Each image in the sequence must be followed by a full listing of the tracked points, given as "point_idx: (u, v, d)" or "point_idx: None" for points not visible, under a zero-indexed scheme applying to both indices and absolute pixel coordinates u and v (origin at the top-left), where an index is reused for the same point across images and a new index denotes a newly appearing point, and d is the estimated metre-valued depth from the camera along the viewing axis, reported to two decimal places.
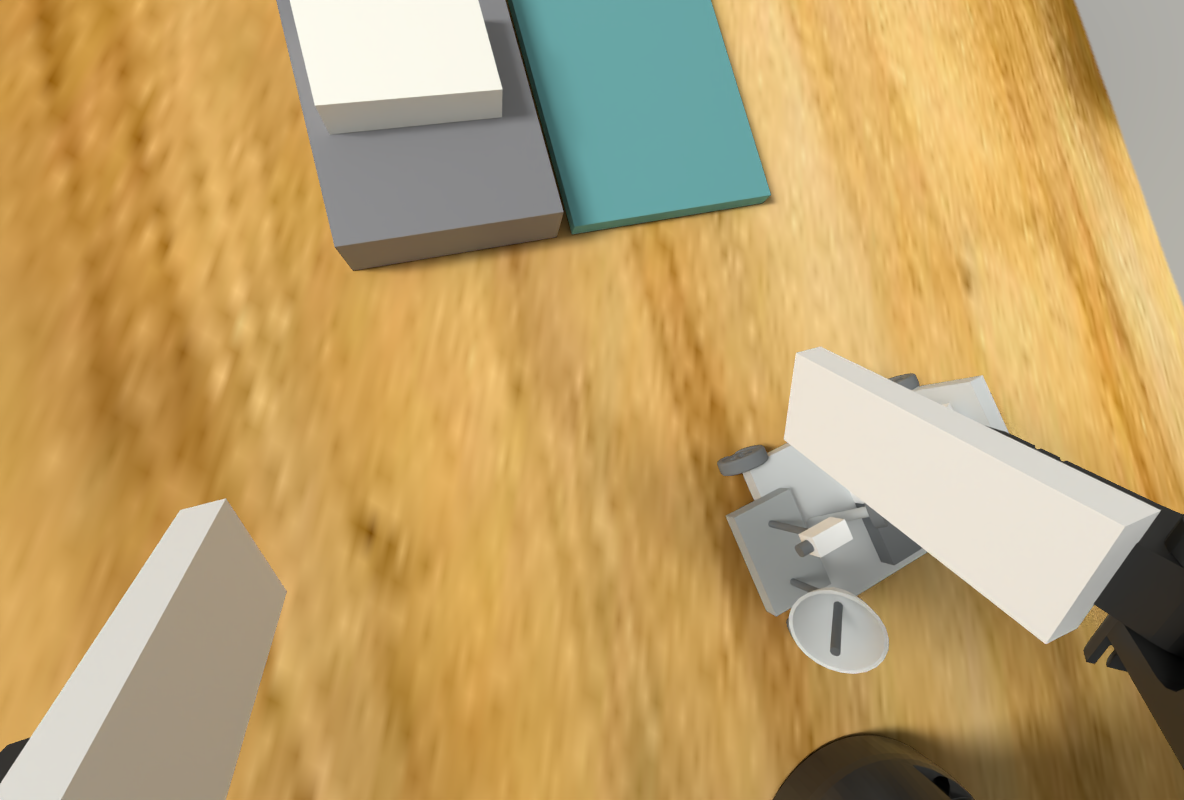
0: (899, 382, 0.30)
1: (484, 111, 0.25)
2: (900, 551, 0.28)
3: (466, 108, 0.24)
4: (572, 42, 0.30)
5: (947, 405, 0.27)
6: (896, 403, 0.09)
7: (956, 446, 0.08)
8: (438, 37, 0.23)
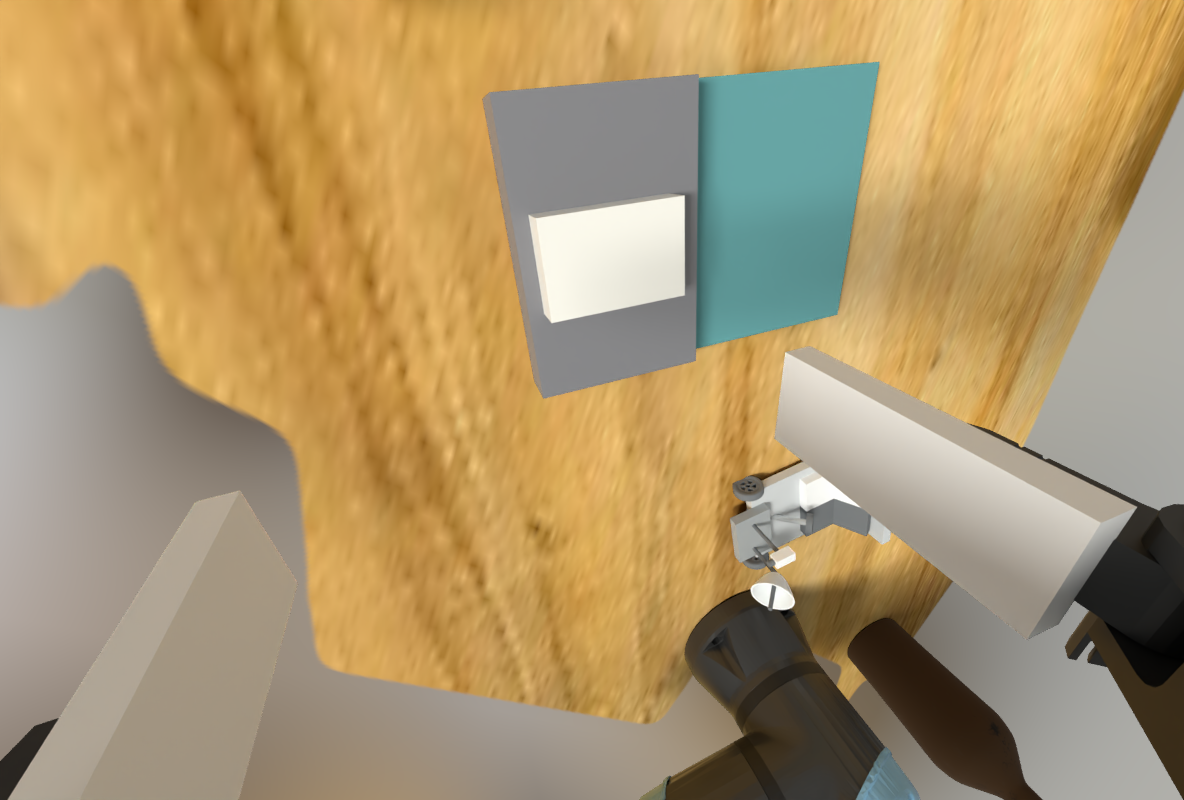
0: None
1: None
2: (812, 530, 0.51)
3: None
4: (736, 177, 0.32)
5: None
6: (882, 402, 0.09)
7: (940, 444, 0.08)
8: (647, 252, 0.28)
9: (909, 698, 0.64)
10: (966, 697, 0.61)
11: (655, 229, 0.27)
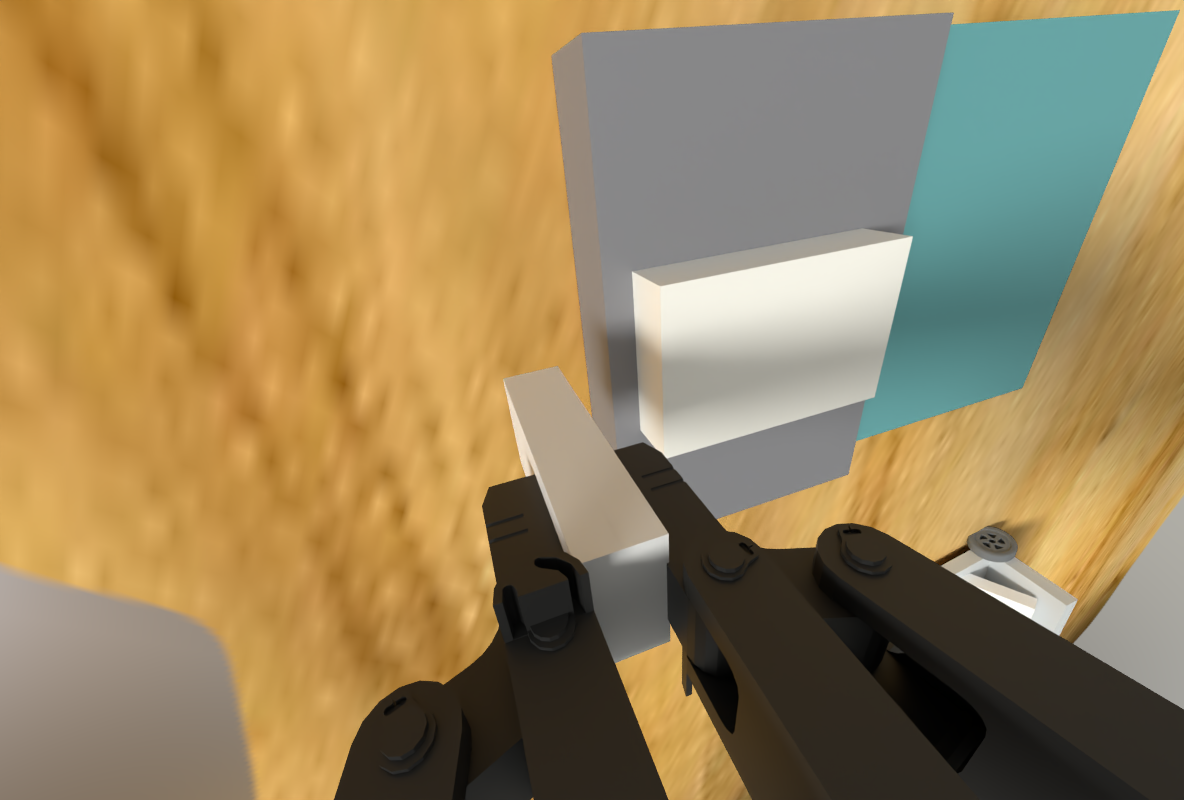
0: (1003, 556, 0.35)
1: None
2: None
3: None
4: (941, 197, 0.20)
5: (1035, 603, 0.34)
6: (561, 425, 0.10)
7: None
8: (834, 335, 0.16)
9: None
10: None
11: (855, 296, 0.15)
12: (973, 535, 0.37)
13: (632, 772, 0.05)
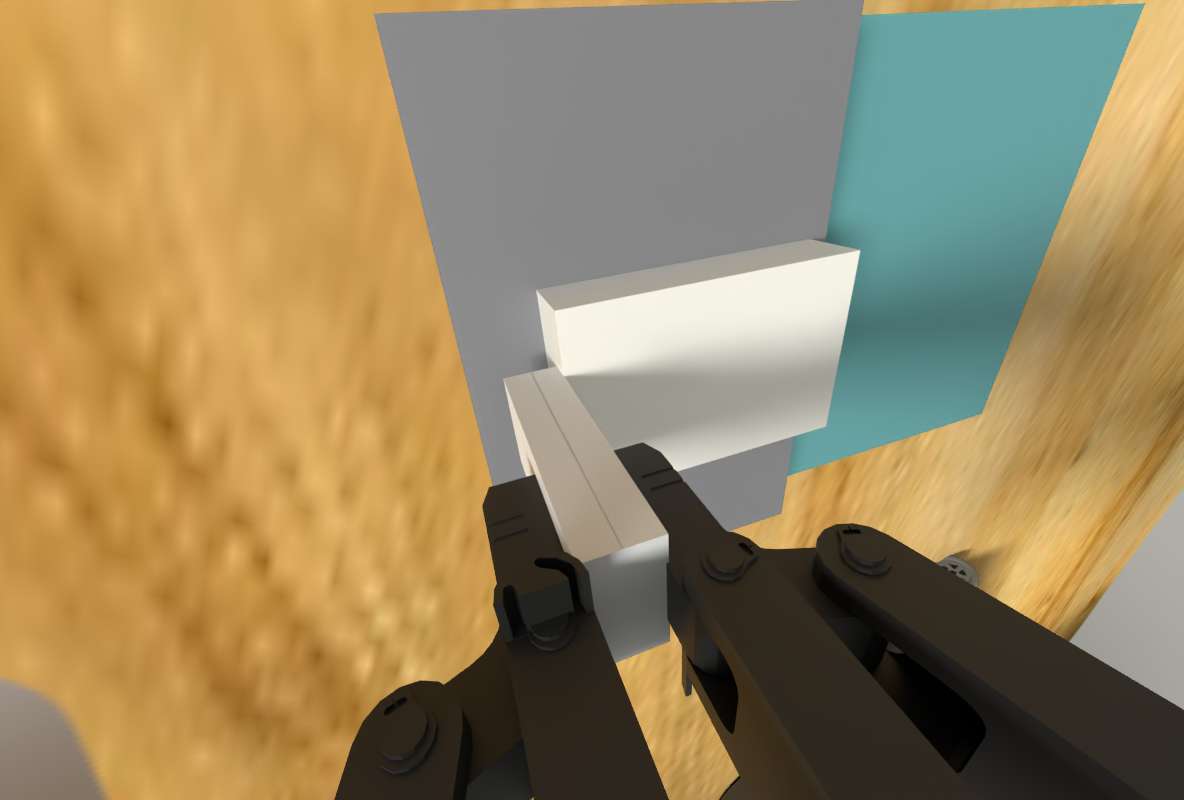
0: None
1: None
2: None
3: None
4: (876, 211, 0.17)
5: None
6: (561, 425, 0.10)
7: None
8: (774, 361, 0.14)
9: None
10: None
11: (795, 317, 0.13)
12: None
13: (632, 772, 0.05)
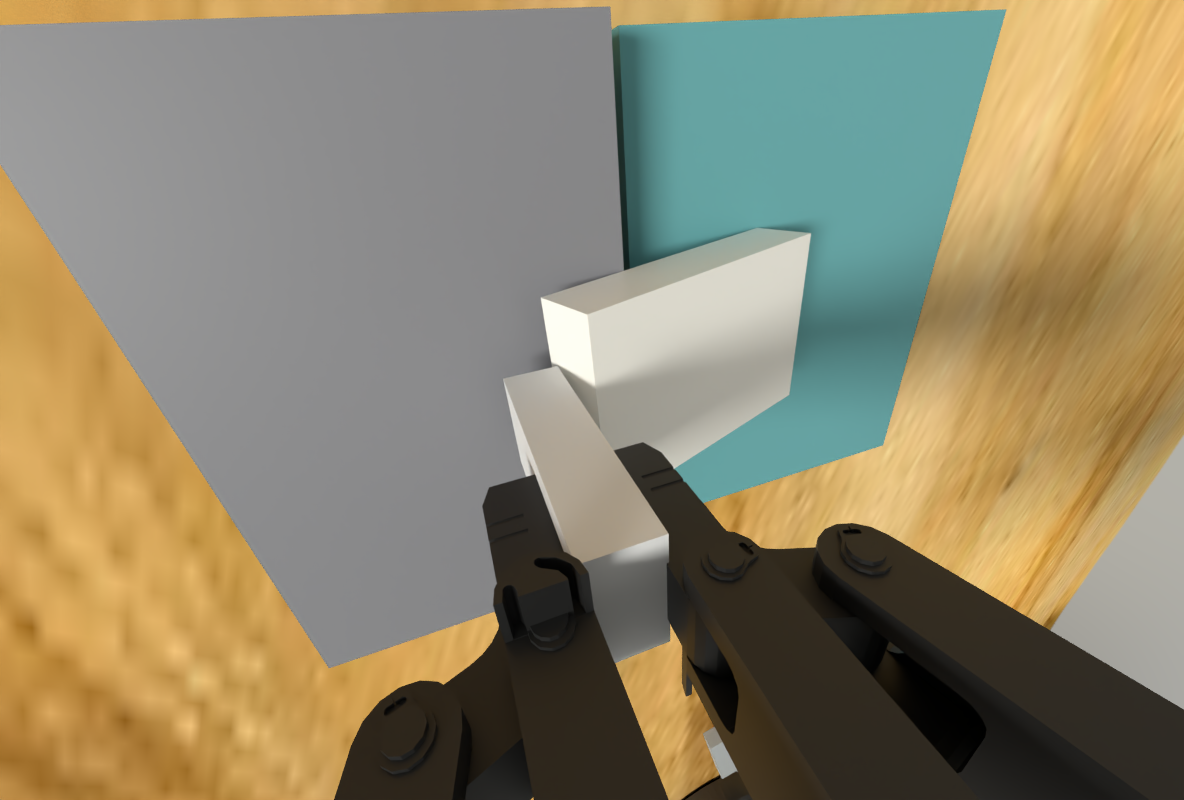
0: None
1: None
2: None
3: None
4: (714, 239, 0.16)
5: None
6: (561, 425, 0.10)
7: None
8: (755, 340, 0.15)
9: None
10: None
11: (769, 298, 0.15)
12: None
13: (632, 772, 0.05)
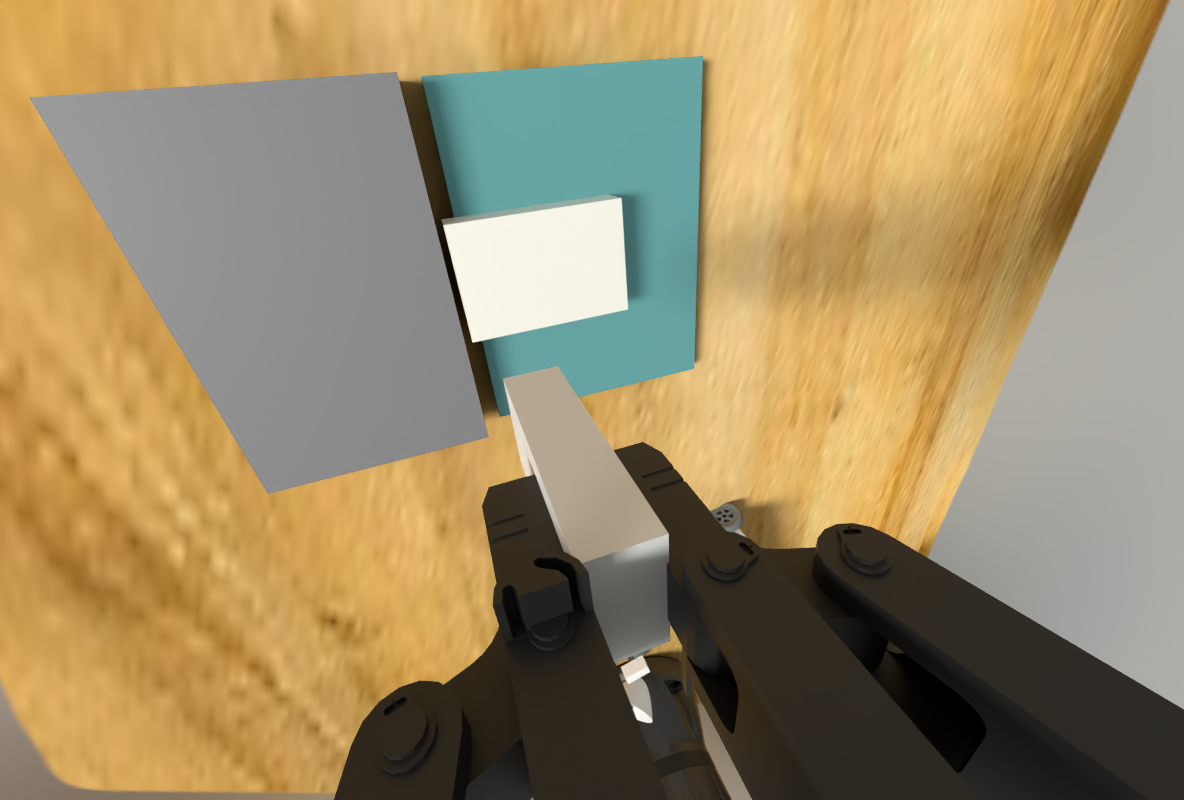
0: (726, 528, 0.41)
1: None
2: None
3: None
4: None
5: None
6: (561, 425, 0.10)
7: None
8: (581, 262, 0.24)
9: None
10: None
11: (589, 236, 0.24)
12: (712, 511, 0.42)
13: (632, 772, 0.05)
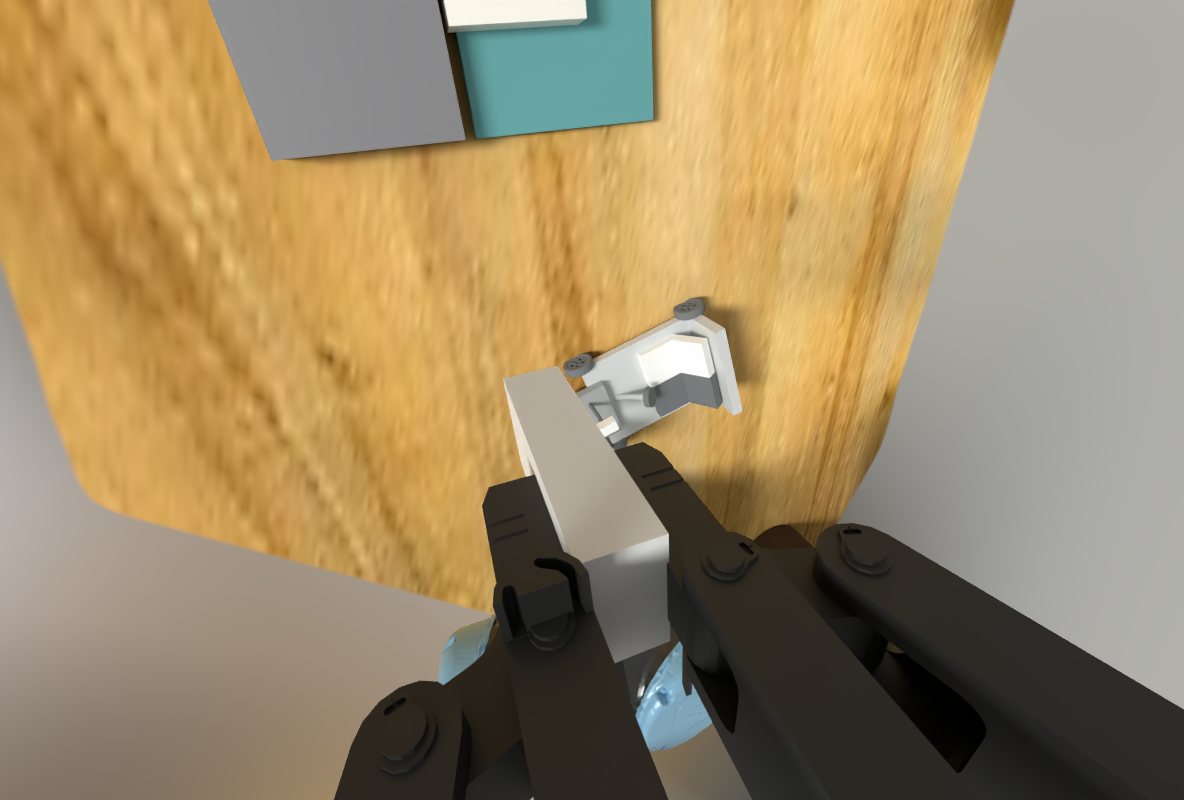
0: (689, 312, 0.44)
1: (567, 23, 0.31)
2: (666, 410, 0.49)
3: (554, 23, 0.31)
4: None
5: (703, 341, 0.43)
6: (561, 425, 0.10)
7: None
8: None
9: None
10: None
11: None
12: (677, 305, 0.46)
13: (632, 772, 0.05)
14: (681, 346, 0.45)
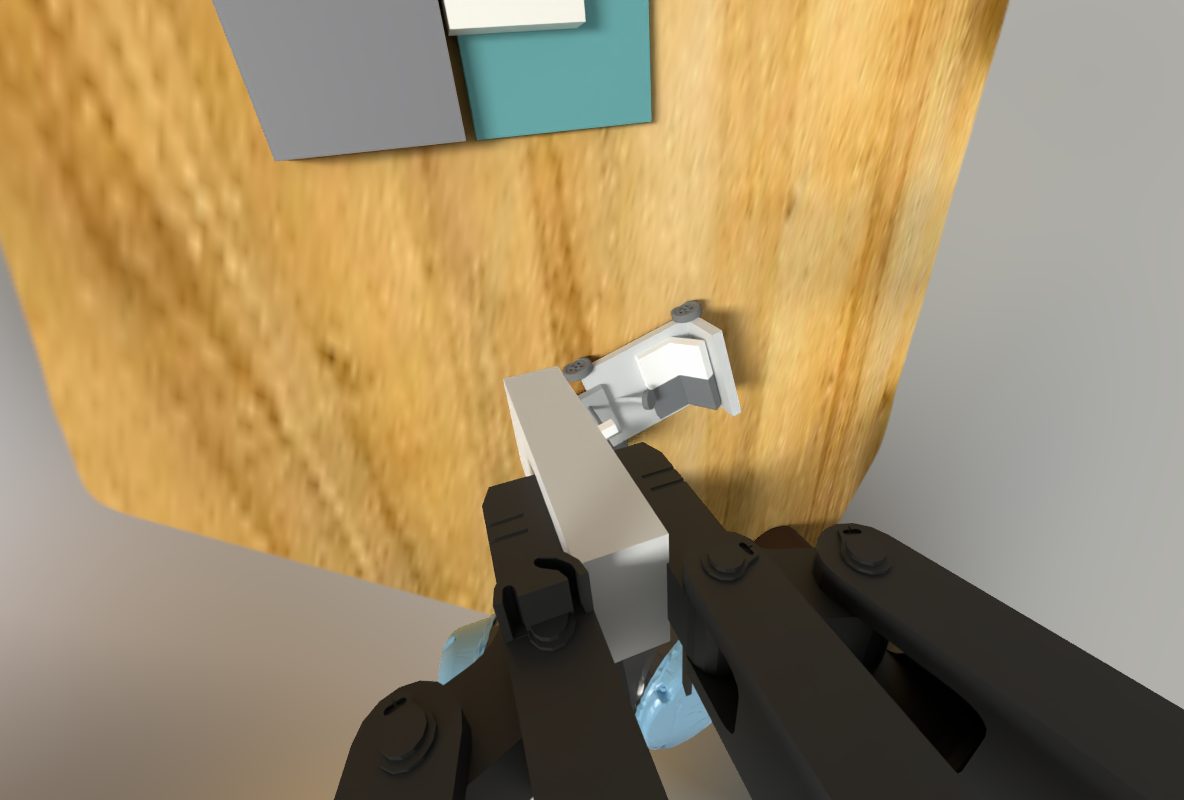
0: (686, 315, 0.45)
1: (566, 27, 0.32)
2: (666, 412, 0.49)
3: (554, 26, 0.31)
4: None
5: (701, 343, 0.43)
6: (561, 425, 0.10)
7: None
8: None
9: None
10: None
11: None
12: (675, 308, 0.47)
13: (632, 772, 0.05)
14: (679, 348, 0.45)
